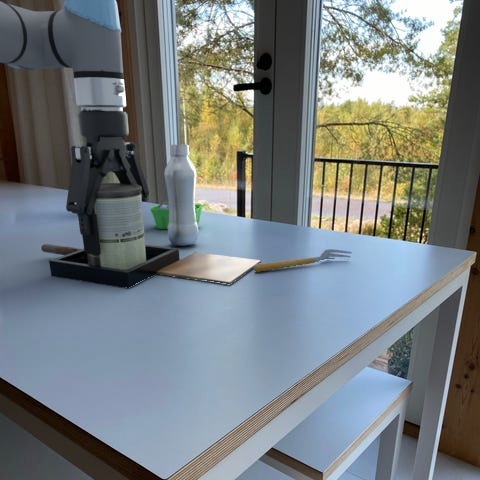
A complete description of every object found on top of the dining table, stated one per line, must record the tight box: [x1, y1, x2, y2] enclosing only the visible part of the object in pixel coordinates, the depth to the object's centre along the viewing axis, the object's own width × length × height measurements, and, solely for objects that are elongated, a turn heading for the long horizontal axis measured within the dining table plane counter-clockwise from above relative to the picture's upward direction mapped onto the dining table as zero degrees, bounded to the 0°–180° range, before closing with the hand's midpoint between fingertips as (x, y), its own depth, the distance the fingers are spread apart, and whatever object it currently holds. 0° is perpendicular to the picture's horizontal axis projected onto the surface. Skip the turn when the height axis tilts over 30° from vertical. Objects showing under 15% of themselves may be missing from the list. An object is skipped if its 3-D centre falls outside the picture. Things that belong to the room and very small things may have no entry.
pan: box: [40, 243, 180, 289], centre depth 86 cm, size 25×16×3 cm, turn 67°
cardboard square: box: [156, 251, 262, 284], centre depth 85 cm, size 14×14×1 cm
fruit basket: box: [149, 192, 204, 230], centre depth 115 cm, size 11×9×11 cm
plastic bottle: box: [163, 144, 200, 247], centre depth 97 cm, size 6×7×20 cm
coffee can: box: [85, 183, 146, 270], centre depth 82 cm, size 10×10×14 cm
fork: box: [253, 248, 353, 273], centre depth 87 cm, size 2×2×20 cm
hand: (116, 245), depth 83 cm, fingers open, 12 cm apart
